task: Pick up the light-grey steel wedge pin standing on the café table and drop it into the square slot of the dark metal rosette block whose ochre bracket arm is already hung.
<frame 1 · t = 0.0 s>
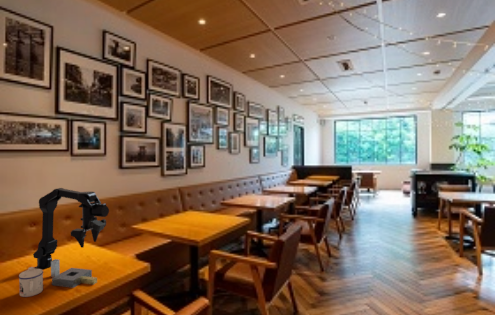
hand: (88, 244, 154), 15 cm above the table, fingers open, 9 cm apart
teacup with lid: (31, 294, 131), on the table
rosette block: (72, 280, 144), on the table
wedge pin: (55, 275, 149), on the table
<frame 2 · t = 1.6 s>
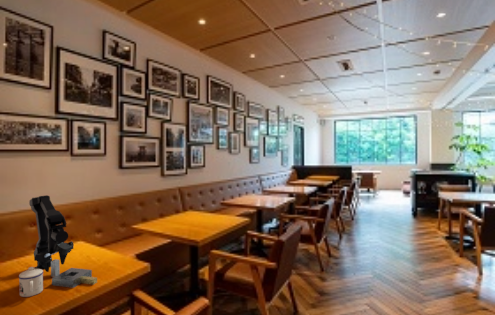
hand: (55, 267, 149), 4 cm above the table, fingers open, 9 cm apart
nothing on the table moved.
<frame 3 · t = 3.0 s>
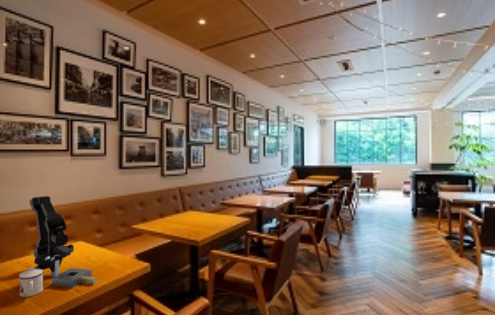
hand: (55, 270, 149), 3 cm above the table, fingers closed on wedge pin, 3 cm apart
wedge pin: (55, 275, 149), on the table, touching gripper
everything else where it was.
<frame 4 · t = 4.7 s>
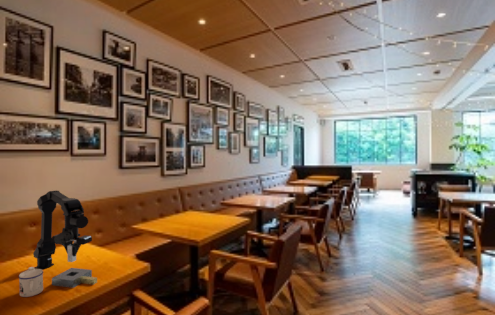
hand: (72, 255, 143), 13 cm above the table, fingers closed on wedge pin, 3 cm apart
wedge pin: (72, 260, 143), point 10 cm above the table, touching gripper
everything else where it was.
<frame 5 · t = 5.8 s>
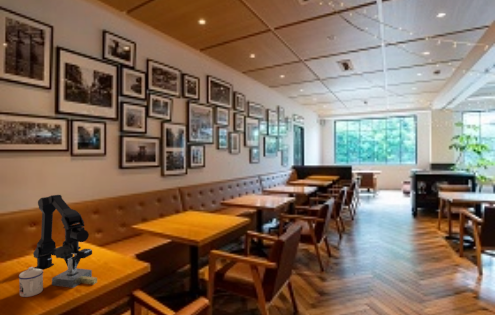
hand: (72, 268, 144), 6 cm above the table, fingers closed on wedge pin, 3 cm apart
wedge pin: (72, 273, 144), point 4 cm above the table, touching gripper
everything else where it was.
when the fingers open (4 cm above the table, at t = 6.7 s): wedge pin drops 2 cm, resting in rosette block.
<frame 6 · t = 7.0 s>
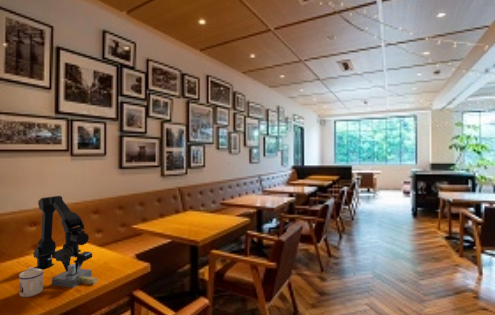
hand: (72, 271, 144), 4 cm above the table, fingers open, 5 cm apart
wedge pin: (72, 280, 144), resting in rosette block
everything else where it was.
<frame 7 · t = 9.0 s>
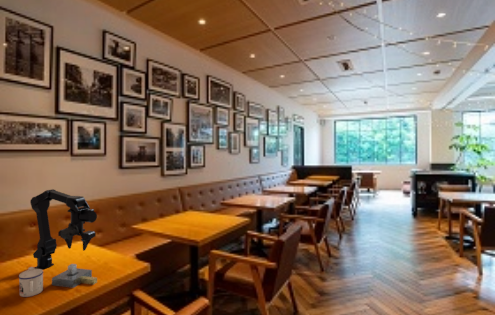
hand: (76, 249, 154), 12 cm above the table, fingers open, 9 cm apart
nothing on the table moved.
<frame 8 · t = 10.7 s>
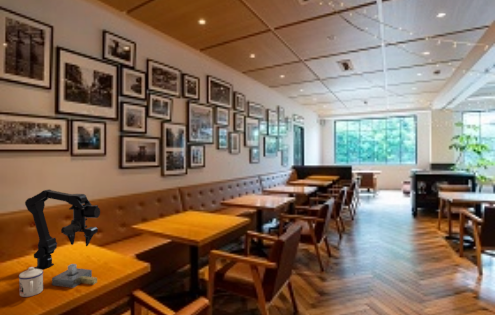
hand: (79, 245, 159), 13 cm above the table, fingers open, 9 cm apart
nothing on the table moved.
at the end: wedge pin 0.0 cm off-centre on the rosette block, point 0.0 cm above the rosette block's base; wedge pin tilted 0°; the gripper is holding nothing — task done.
